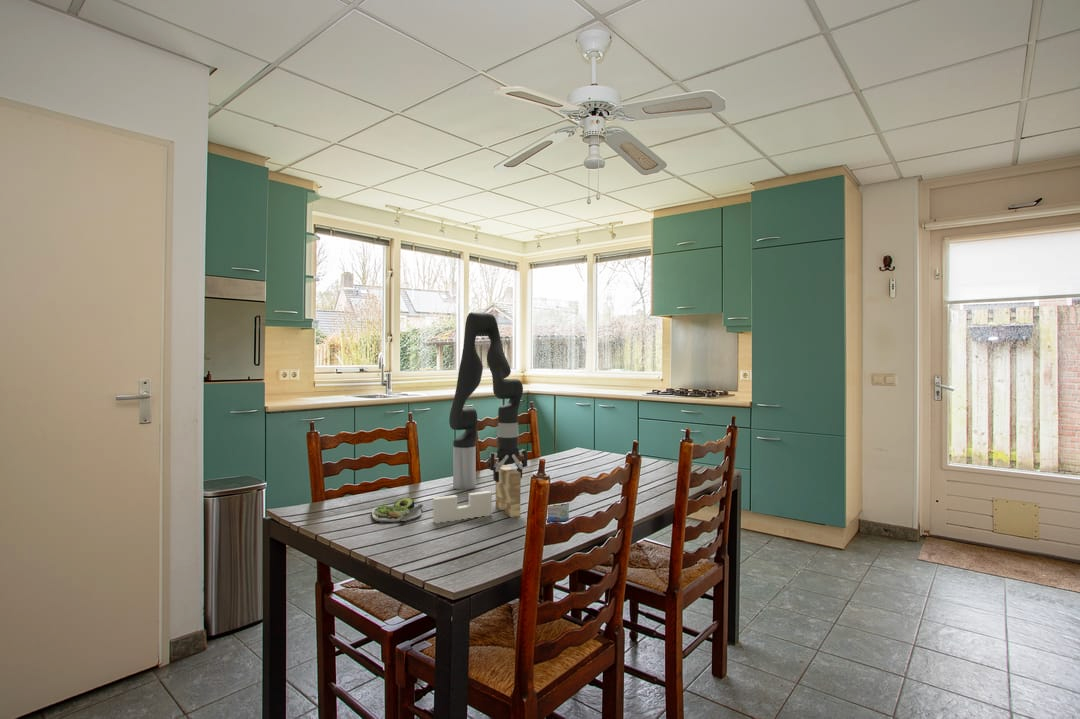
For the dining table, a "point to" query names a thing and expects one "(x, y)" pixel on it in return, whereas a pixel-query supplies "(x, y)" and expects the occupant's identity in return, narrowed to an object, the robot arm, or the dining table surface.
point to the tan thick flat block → (508, 491)
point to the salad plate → (398, 511)
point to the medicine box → (558, 513)
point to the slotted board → (462, 507)
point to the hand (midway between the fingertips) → (507, 480)
